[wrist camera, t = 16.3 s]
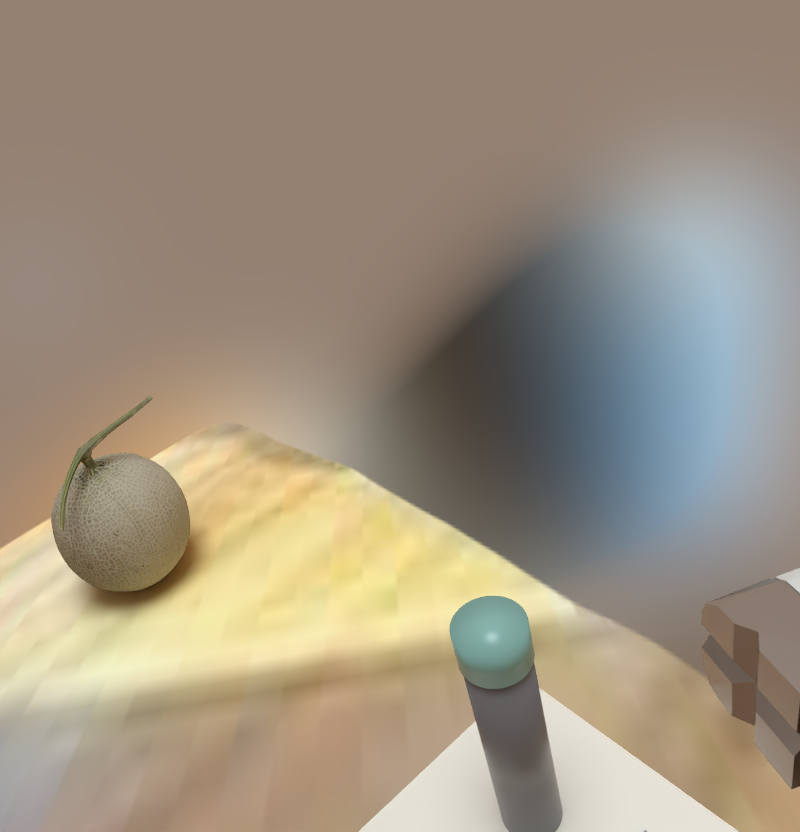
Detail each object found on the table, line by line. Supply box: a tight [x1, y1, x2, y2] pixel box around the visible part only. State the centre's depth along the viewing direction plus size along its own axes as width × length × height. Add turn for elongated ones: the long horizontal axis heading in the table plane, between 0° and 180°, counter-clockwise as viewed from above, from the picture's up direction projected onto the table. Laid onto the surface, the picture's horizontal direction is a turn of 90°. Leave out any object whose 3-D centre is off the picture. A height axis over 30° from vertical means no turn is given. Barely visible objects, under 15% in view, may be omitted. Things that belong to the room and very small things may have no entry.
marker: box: [450, 596, 562, 832], centre depth 34 cm, size 3×3×14 cm
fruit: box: [51, 396, 190, 592], centre depth 59 cm, size 10×12×15 cm
